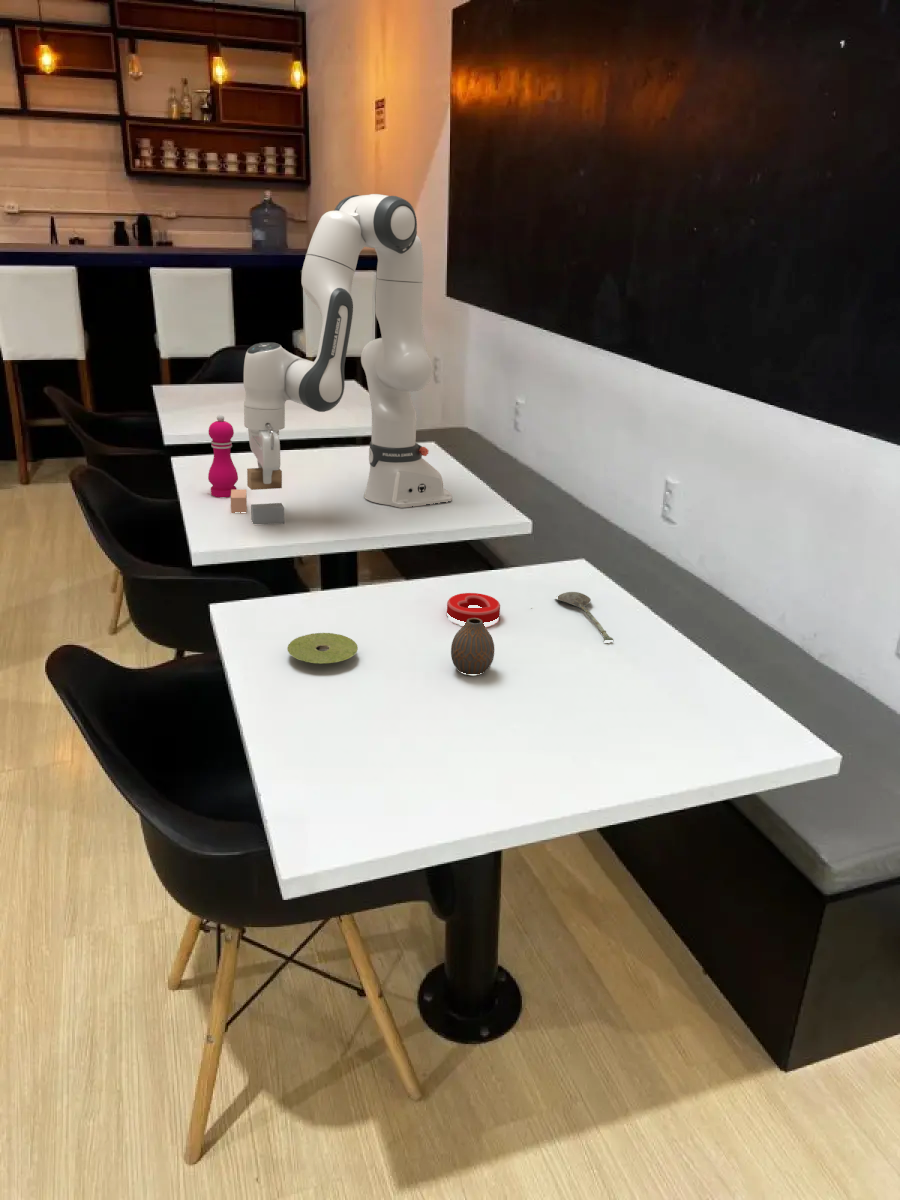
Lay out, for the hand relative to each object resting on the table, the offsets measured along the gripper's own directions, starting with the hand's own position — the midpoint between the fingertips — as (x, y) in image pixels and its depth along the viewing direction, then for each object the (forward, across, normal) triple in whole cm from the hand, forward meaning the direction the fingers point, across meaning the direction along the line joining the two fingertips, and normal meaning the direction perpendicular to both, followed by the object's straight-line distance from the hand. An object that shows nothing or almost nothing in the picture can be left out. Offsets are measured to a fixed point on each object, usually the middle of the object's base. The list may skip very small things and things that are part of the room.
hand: (265, 480), depth 207 cm
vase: (+10, -82, -20) cm, 85 cm away
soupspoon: (+10, -67, -48) cm, 83 cm away
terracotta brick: (+10, +11, +4) cm, 16 cm away
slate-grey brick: (+10, 0, -1) cm, 10 cm away
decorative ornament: (+10, -62, -28) cm, 68 cm away
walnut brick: (+2, 0, 0) cm, 2 cm away
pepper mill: (+10, +24, +6) cm, 27 cm away
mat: (+10, -72, +2) cm, 73 cm away
